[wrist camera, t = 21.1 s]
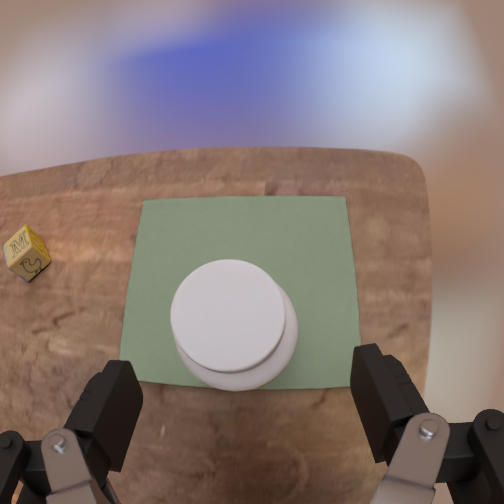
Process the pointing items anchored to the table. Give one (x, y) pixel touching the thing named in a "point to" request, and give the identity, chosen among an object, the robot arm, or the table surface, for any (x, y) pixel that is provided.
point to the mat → (259, 254)
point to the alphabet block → (26, 253)
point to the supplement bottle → (233, 325)
